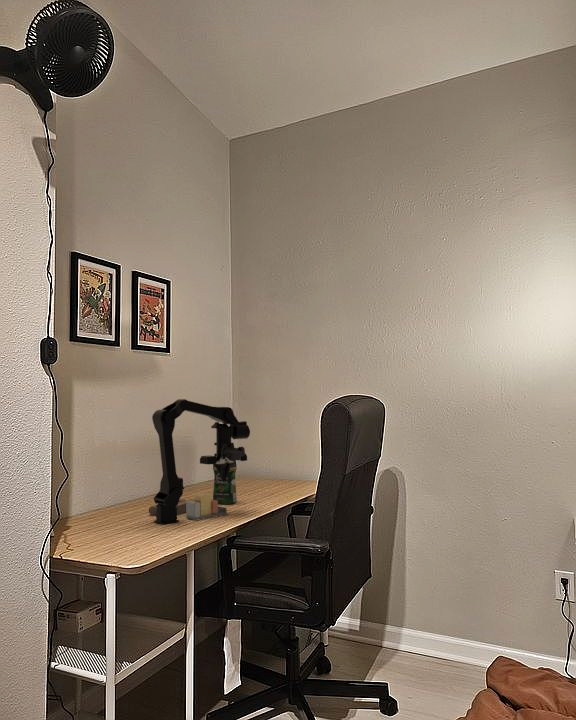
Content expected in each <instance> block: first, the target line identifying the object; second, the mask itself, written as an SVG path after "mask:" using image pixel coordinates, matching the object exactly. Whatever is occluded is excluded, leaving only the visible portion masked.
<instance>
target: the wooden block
mask: <svg viewBox="0 0 576 720" xmlns="http://www.w3.org/2000/svg"><path fill="white" fill-rule="evenodd" d="M186 501H194V499H184V498H180V499H179V502H178V505H176V507H177V516H180V515H183V514H186V513H185V512H186ZM156 505H158V504H153V505H150V507H149V508H148V513H149V515H151V516H156ZM179 514H180V515H179Z"/></svg>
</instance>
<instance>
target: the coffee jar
mask: <svg viewBox="0 0 576 720" xmlns="http://www.w3.org/2000/svg"><path fill="white" fill-rule="evenodd" d="M233 462H234V463H235V464H234V465H232V466H231V468H230V470H229V473H228V476H227V479H226V481H224V482H223V481H222V479H221V477H220V475H219V473H218V471H217V469H216V467H215V465H212V470H213V474H214V477H213V478H214V480H213V481H214V483H213V491H212V492H213V493H212V500H217V501H218V505H230V504H231V505H233V503H234V504H235V503H236V502H237V501H238V500H237V499H238V497H237V487H236V486H237V485H236V473H237V469H238V466H237V460H235V461H233Z"/></svg>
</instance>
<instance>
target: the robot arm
mask: <svg viewBox="0 0 576 720" xmlns="http://www.w3.org/2000/svg"><path fill="white" fill-rule="evenodd" d="M184 412H189V413H192V414H196V415H197V414H198V415H202V416H205V417H208V418H210V419H211V420H213V421H216V422H214V423H213V425H211V426H210V428H211V429H216V434H215V435H216V436H215V437H216V441H215V442H214V444H213V445H214V446H216V452H215V453H213V454H214V455H209V454H208V455H201V456H200V458H199V464H201V465H212V466H213V465H215V467H216V469H217V471H218V473H219V475H220V477H221V479H222V481H223V482H224V481H226V479H227V476H228V473H229V470H230V468H231V466H232V465H234V464H235V463H234V462H233V461H235V460H236V461H238V462H239V461H241V462H246V461H248V455H247V454H246V448H245V447H243V446H239V447H235V443H234V442H232V440H244V439H248V438H249V437H250V435H251V429H250V426H249V425H248V423H247V421H244V420H242V421H239V420H238V419H237V417H236V416H235V414H234V410H233V408H232V407H228V406H211V405H208V404H203V403H199V402H195V401H191V400H188V399H186V398H179V399H176V400H175V401H174V402H172V403H170V404H168V405H166V406H165V407H163V408H162V409H157V410H156V411H154V413H153V414H152V418H151V419H152V420H151V421H152V424H153V426H154V429H155V431H156V433H157V435H158V442H159V450H160V461H161V467H162V476H161V480H160V483H159V484H160V485H159V491H158V492H157V493H156V495H155V496H154V497H153V501H154V504H155V505H156V515H155V517H156V519H154V520H153V522H154V523H158V524H161V525H167V524H171V523H178V522H179V520H180V519H179V520H178V515H177V507H176V505H178V502H179V499H181V497H182V496H183V493H184V491H183V490H185V487H184V480H183V477H179V476H178V474H177V468H176V457H175V449H174V439H173V433H174V430H175V426H176V419H178V418H179V417H180V416H181V415H182V414H183V413H184ZM157 504H158V505H157Z"/></svg>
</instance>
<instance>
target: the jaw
mask: <svg viewBox="0 0 576 720" xmlns="http://www.w3.org/2000/svg"><path fill="white" fill-rule="evenodd" d="M218 506H219V504H218V501H217V500H213V499H212V513H218Z"/></svg>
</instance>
